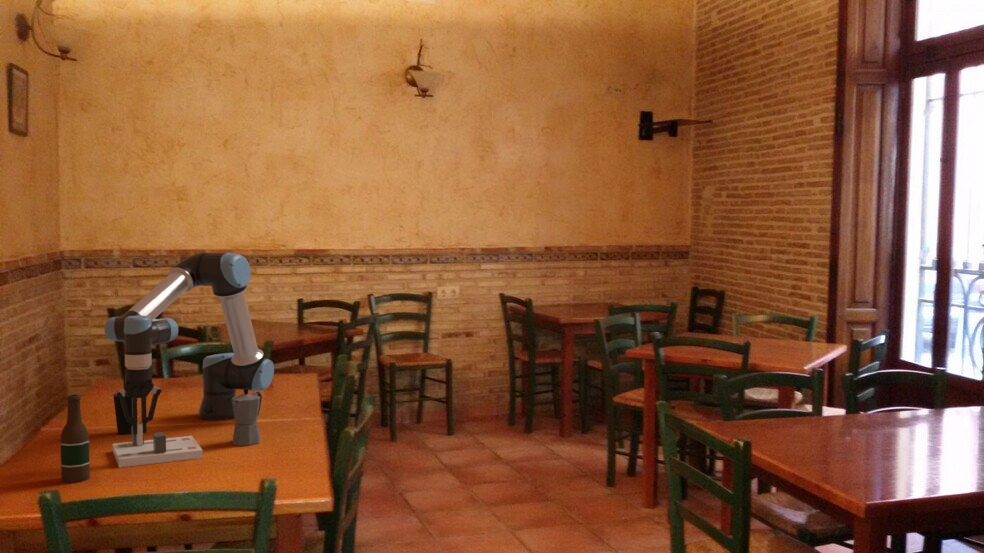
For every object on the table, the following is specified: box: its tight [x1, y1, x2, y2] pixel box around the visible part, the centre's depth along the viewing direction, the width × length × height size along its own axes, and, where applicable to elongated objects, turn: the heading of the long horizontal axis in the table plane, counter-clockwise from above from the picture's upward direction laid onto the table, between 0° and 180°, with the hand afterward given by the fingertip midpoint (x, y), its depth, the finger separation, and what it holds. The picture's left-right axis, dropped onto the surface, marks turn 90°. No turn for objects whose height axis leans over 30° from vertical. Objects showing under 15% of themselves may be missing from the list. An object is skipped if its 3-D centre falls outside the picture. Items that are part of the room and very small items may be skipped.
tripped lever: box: [152, 431, 167, 453], centre depth 275 cm, size 3×5×5 cm, turn 28°
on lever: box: [131, 426, 145, 446], centre depth 283 cm, size 3×5×5 cm, turn 27°
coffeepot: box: [231, 389, 263, 447], centre depth 297 cm, size 15×9×18 cm, turn 162°
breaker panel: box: [112, 435, 204, 469], centre depth 281 cm, size 24×20×3 cm
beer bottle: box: [60, 393, 91, 484], centre depth 254 cm, size 8×8×24 cm
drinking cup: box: [112, 374, 133, 436], centre depth 307 cm, size 8×8×20 cm
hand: (139, 444), depth 273 cm, fingers closed
